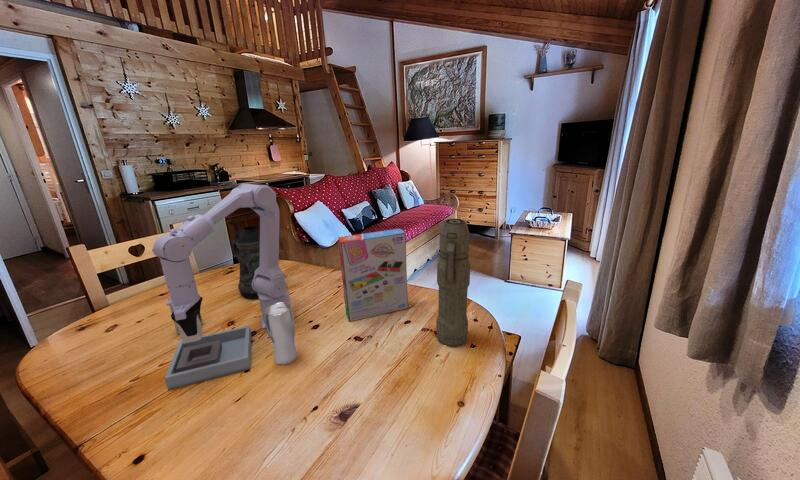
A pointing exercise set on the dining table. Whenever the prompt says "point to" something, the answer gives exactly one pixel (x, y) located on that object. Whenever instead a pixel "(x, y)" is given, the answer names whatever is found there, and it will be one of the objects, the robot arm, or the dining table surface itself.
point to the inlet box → (210, 357)
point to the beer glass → (281, 332)
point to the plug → (194, 337)
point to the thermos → (453, 283)
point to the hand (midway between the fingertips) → (193, 330)
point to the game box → (374, 273)
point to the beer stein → (247, 259)
